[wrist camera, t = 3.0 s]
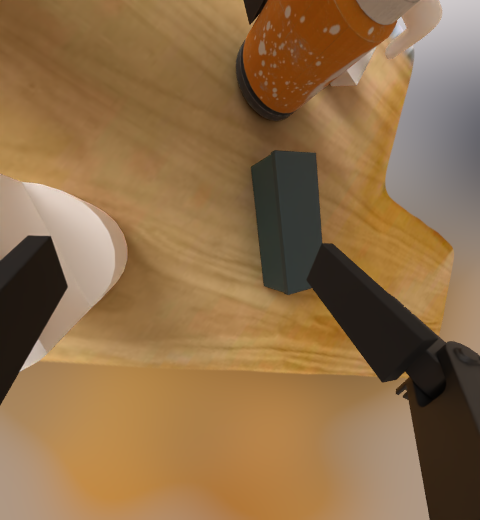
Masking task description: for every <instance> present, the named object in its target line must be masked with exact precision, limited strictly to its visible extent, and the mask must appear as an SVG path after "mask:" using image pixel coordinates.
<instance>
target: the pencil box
mask: <svg viewBox="0 0 480 520" xmlns="http://www.w3.org/2000/svg"><path fill="white" fill-rule="evenodd" d="M251 172H252V181H253V191H254V200H255V209H256V218H257V227H258V237H259V246H260V255H261V264H262V273H263V283H264V286H265V287H268V288H272V289H275V290H278V291H281V292H284V293H285V294H287V295H290V294H293V293H297V292H300V291H303V290H307V289H310V288H312V287H311V286H310V284H309V283H308V282H307V280H306V279H307V277H308V275H309V272H310V270H311V268H312V265H313V263H314V260H315V258H316V256H317V253H318V251H319V249H320V246H321V244H322V233H321V218H320V204H319V190H318V176H317V162H316V153H310V152H293V151H277V150H275V151H273V152H271V155H269V156H268V157H266V158H264V159H263V160H261V161H260V162H258V163H256V164H255V165H253V166H252V167H251Z"/></svg>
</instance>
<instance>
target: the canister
mask: <svg viewBox="0 0 480 520" xmlns="http://www.w3.org/2000/svg"><path fill="white" fill-rule="evenodd" d="M419 1H420V0H244V4H245V8H246V12H247V16H248V21H249V25H250V24H251V23H252V22H253V21H254V20H255V19H256V17H257V16H258V15H259V14H260V15H259V16H258V18H257V20H256V22H255V23H254V25H253V27H252V29H251V30H250V32H249V34H248V36H247V38H246V39H245V41H244V43H243V44H242V46H241V48H240V50H239V52H238V55H237V59H236V75H237V80H238V84H239V87H240V89H241V92H242V94H243V96H244V97H245V99H246V101H247V102H248V104H249V105H250V106H251V107H252V108H253V109H254V110H255V111H256V112H257V113H258V114H259V115H261V116H263V117H264V118H267V119H269V120H274V121H279V120H283V119H285V118H287V117H288V116H290V115H291V114H292V113H293V112H295V111H296V110H297V109H298V108H300V107H301V106H302V105H303V104H305V103H306V102H307V101H308V100H310V99H311V98H312V97H313V96H315V95H316V94H317V93H318V92H320V91H321V90H322V89H324V88H325V87H326V86H327V85H329V84H330V83H331V82H332V81H334V80H335V79H336V78H337V77H339V76H340V75H341V74H342V73H344V72H345V71H346V70H347V69H349V68H350V67H351V66H352V65H354V64H355V63H356V62H357V61H359V60H360V59H361V58H362V57H364V56H365V55H366V54H367V53H369V52H370V51H371V50H372V49H374V48H375V47H376V46H377V45H379V44H380V43H381V42H382V41H384V40H385V39H386V38H388V37H389V35H390V34H391V33H392V32H393V30H394V28H395V26H396V23H397V20H398V19H399V18H400V17H401V16H402V15H403V14H405V13H406V12H407V11H408V10H409V9H410V8H412V7H413V6H414V5H415V4H416V3H418V2H419Z"/></svg>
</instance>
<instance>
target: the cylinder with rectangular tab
mask: <svg viewBox="0 0 480 520" xmlns="http://www.w3.org/2000/svg"><path fill="white" fill-rule="evenodd" d="M28 235H33V236H51V238H52V241H53V244H54V247H55V250H56V253H57V255H58V258H59V261H60V264H61V267H62V270H63V273H64V276H65V279H66V282H67V285H68V288H67V290H66V291H65V293H64V295H63V297H62V298H61V300H60V302H59V304H58V305H57V307H56V309H55V311H54V312H53V314H52V316H51V318H50V319H49V321H48V323H47V325H46V326H45V328H44V330H43V332H42V333H41V335H40V337H39V338H38V340H37V342H36V344H35V345H34V347H33V349H32V351H31V352H30V354H29V356H28V358H27V359H26V361H25V363H24V365H23V366H22V368H21V370H20V371H22V370H24V369H25V368H27V367H29V366H31V365H32V364H34V363H36V362H38V361H40V360H41V359H42V358H43V357H44V356H45V355H46V354H47V353H48V352H49V351H50V350H51V349H52V348H53V347H54V346H55V345H56V344H57V343H58V342H59V341H60V340H61V339H62V338H63V337H64V336H65V335H66V334H67V333H68V332H69V331H70V329H71V328H72V327H73V326H74V325H75V324H76V323H77V322H78V321H79V320H80V319H81V318H82V317H83V316H84V315H85V314H86V313H87V312H88V311H89V310H90V309H91V308H92V307H93V306H94V305H95V304H96V303H97V302H98V301H99V300H100V299H101V298H102V297H103V296H104V295H105V294H106V293H107V292H108V291H109V290H110V289H111V288H112V287H113V286H114V285H115V284H116V283H117V281H118V280H119V278H120V277H121V275H122V273H123V272H124V269H125V266H126V262H127V259H128V257H127V243H126V240H125V237H124V234H123V232H122V231H121V229H120V228H119V226H118V224H117V223H116V222H115V221H114V220H113V219H112V218H111V217H110V216H109V215H108V214H107V213H106V212H104V211H103V210H101V209H99V208H97V207H96V206H94V205H92V204H90V203H88V202H86V201H83V200H81V199H79V198H77V197H75V196H73V195H70V194H68V193H66V192H64V191H62V190H58V189H55V188H52V187H49V186H45V185H42V184H38V183H27V182H20V181H18V180H15V179H13V178H10V177H7V176H5V175H2V174H0V260H2V259H3V258H4V257H5V256H6V255H7V254H8V253H9V252H10V251H11V250H12V249H14V248H15V247H16V246H17V245H18V244H19V243H20V242H21V241H22V240H23V239H24V238H26V237H27V236H28Z"/></svg>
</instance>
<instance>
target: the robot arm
mask: <svg viewBox="0 0 480 520" xmlns="http://www.w3.org/2000/svg"><path fill="white" fill-rule="evenodd" d="M306 280H307V282H308V283H309V284H310V286H311V287H312V288H313V290H314V291H315V293H316V294H317V295H318V297H319V298H320V299H321V301H322V302H323V303H324V305H325V306H326V307H327V309H328V310H329V311H330V313H331V314H332V315H333V317H334V318H335V320H336V321H337V322H338V324H339V325H340V326H341V328H342V329H343V330H344V332H345V333H346V334H347V336H348V337H349V338H350V340H351V341H352V342H353V344H354V345H355V346H356V348H357V349H358V351H359V352H360V353H361V355H362V356H363V357H364V359H365V360H366V361H367V363H368V364H369V365H370V367H371V368H372V369H373V371H374V372H375V373H376V375H377V376H378V377H379V379H380V380H381V382H387V381H392V380H396V379H398V378H399V377H400V376H401V375H402V374H403V373H404V372H406V373H407V374H408V375H409V378H408V379H407V380H406V381H405V382H404V383H403V384H401V385H400V386H399V387H398V388H397V389H396V394H397V395H399V394H400V393H401V392H403V391H404V390H407V392H406V393H405V394H404V395H403V398H405V399H407V400H409V405H410V410H411V416H412V422H413V427H414V433H415V439H416V444H417V450H418V456H419V461H420V467H421V472H422V478H423V483H424V489H425V495H426V500H427V506H428V512H429V518H430V520H480V356H479V355H478V354H477V353H475V352H474V351H473V350H471V349H470V348H468V347H466V346H464V345H462V344H460V343H457V342H452V341H450V342H447V343H446V342H444V341H443V340H442V339H441V338H440V337H439V336H437V335H436V334H435V333H434V332H433V331H432V330H431V329H430V328H428V327H427V326H426V325H425V324H424V323H423V322H422V321H421V320H419V319H418V318H417V317H416V316H415V315H414V314H411V312H410V311H409V310H408V309H407V308H406V307H404V305H403V304H401V303H400V302H399V301H398V300H397V299H396V298H395V297H393V296H391V295H390V294H388V293H387V292H386V291H385V290H384V289H383V288H382V287H381V286H379V285H378V284H377V283H376V282H375V281H374V280H373V279H372V278H370V277H369V276H368V275H367V274H366V273H365V272H364V271H363V270H362V269H360V268H359V267H358V266H357V265H356V264H355V263H354V262H353V261H351V260H350V259H349V258H348V257H347V256H346V255H345V254H344V253H343V252H341V251H340V250H339V249H338V248H337V247H336V246H335V245H334V244H326V243H322V244H321V246H320V249H319V251H318V253H317V256H316V258H315V260H314V263H313V265H312V268H311V270H310V272H309V275H308V277H307V279H306ZM67 288H68V285H67V282H66V279H65V276H64V273H63V270H62V267H61V264H60V261H59V258H58V255H57V253H56V250H55V247H54V244H53V241H52V238H51V236H33V235H28V236H27V237H26V238H24V239H23V240H22V241H21V242H20V243H19V244H18V245H17V246H16V247H15V248H14V249H12V250H11V251H10V252H9V253H8V254H7V255H6V256H5V257H4V258H3V259H2V260H0V405H1V403H2V401H3V400H4V398H5V396H6V394H7V393H8V391H9V389H10V387H11V386H12V384H13V382H14V380H15V379H16V377H17V375H18V373H19V372H20V370H21V368H22V366H23V365H24V363H25V361H26V359H27V358H28V356H29V354H30V352H31V351H32V349H33V347H34V345H35V344H36V342H37V340H38V338H39V337H40V335H41V333H42V332H43V330H44V328H45V326H46V325H47V323H48V321H49V319H50V318H51V316H52V314H53V312H54V311H55V309H56V307H57V305H58V304H59V302H60V300H61V298H62V297H63V295H64V293H65V291H66V290H67Z"/></svg>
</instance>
